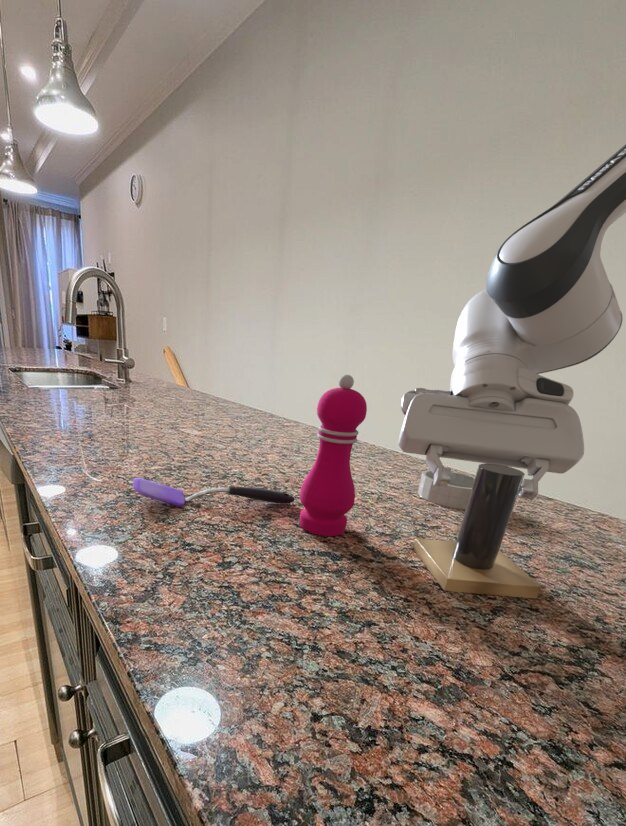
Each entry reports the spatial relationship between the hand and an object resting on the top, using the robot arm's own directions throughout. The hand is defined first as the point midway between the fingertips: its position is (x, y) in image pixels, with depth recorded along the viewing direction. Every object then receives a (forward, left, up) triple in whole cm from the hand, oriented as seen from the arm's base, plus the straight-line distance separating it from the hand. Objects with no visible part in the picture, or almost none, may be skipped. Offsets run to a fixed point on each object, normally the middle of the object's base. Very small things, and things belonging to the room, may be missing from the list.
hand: (483, 490), depth 52 cm
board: (+1, +4, -9) cm, 10 cm away
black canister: (+1, +4, -7) cm, 8 cm away
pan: (-7, -22, -9) cm, 25 cm away
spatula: (+32, -12, -9) cm, 35 cm away
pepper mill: (+17, -6, -9) cm, 20 cm away
